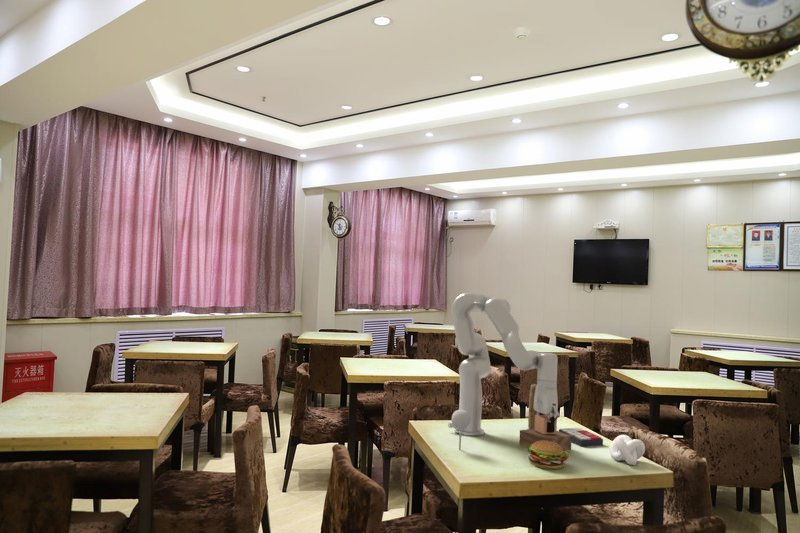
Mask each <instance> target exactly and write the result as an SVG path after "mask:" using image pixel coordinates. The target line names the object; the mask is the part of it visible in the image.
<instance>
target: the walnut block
mask: <svg viewBox="0 0 800 533" xmlns="http://www.w3.org/2000/svg"><path fill="white" fill-rule="evenodd" d="M571 438H572V436H571V435H568V434H565V433H561V432H559V430H556V434H542V433H540V432H537V431H535V428H534V429H529V428H526V429H520V430H519V444H518V445H519V446H522V447H523V448H524V447H525V448H527V449H528V446H529V445H530V444H531V445H532V444H533V443H534V442H536V441H542V440H545V441H552V442H555V443H557V444H559V445H560V446H561V447H562V448H563V451H565V452H567V451H568V452H569V451H572V443H571Z"/></svg>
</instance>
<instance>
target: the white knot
mask: <svg viewBox="0 0 800 533" xmlns="http://www.w3.org/2000/svg"><path fill="white" fill-rule="evenodd" d="M645 451H646V446H645V443H644V442H643V441H642V440H641V439H638V438H637V439H634V438H633V439H632V437H630V436H628V435H627V434H620V435H618V436H616V437H615V438H614V439H613V440H612V442H611V444H610V447H609V454H610V457H611V458H612V459H613V460H614V461H616V462H622V461H623V460H624V461H625V462H626V463H627V464H628V465H630V466H635V465H636V464H637V463H638V460H639V459H640V458H642V456H643V455H644V454H645Z"/></svg>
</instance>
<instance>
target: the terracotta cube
mask: <svg viewBox="0 0 800 533" xmlns="http://www.w3.org/2000/svg"><path fill="white" fill-rule="evenodd" d="M551 417H552V416H550V418H551ZM547 422H548V418H547V415H535V431H537V432H540V433H542V434H556V431H558V430H557V429H558V425H557V423H558V419H557V420H556V422H555V428H554V432H553V433H548V432H547Z"/></svg>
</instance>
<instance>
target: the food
mask: <svg viewBox="0 0 800 533" xmlns="http://www.w3.org/2000/svg"><path fill="white" fill-rule="evenodd" d="M529 453H530V455H528V456H527V457H528V460H529V463H530V464H531V465H533V466H535V467H538V468H541V469H546V470H559V469H562V468H564V465H565V461H568V460H569V456H570V453H569V451H563V448H562V447H561V446H560V445H559V444H557V443H555V442H552V441H545V440H542V441H536V442H534V443H533V444H532V445H531V444H530V445H529V446H528V448H527V454H529Z"/></svg>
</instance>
